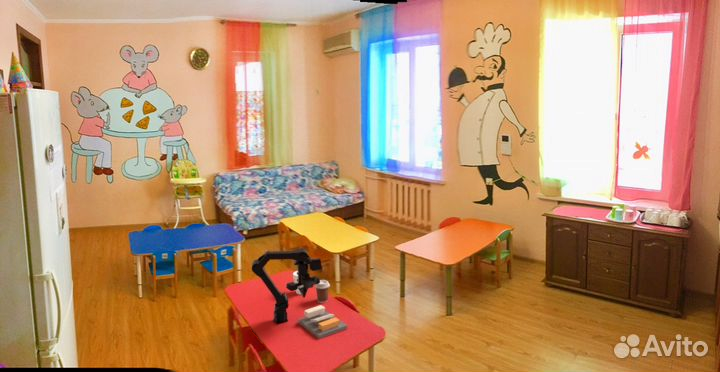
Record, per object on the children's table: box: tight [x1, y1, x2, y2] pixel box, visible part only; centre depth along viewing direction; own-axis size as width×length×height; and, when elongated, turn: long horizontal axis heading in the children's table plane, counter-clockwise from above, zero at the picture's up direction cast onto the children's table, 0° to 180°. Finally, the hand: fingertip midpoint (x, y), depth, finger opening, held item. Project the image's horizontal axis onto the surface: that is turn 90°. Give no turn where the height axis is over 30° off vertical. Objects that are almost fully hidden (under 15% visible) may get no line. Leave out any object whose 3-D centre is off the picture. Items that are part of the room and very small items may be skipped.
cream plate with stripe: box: [311, 313, 335, 322], centre depth 270 cm, size 11×7×1 cm, turn 126°
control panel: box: [297, 310, 348, 340], centre depth 271 cm, size 18×22×4 cm
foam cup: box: [292, 270, 302, 296], centre depth 312 cm, size 10×9×13 cm
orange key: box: [319, 316, 341, 331], centre depth 265 cm, size 11×4×3 cm, turn 126°
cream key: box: [304, 305, 326, 318], centre depth 276 cm, size 11×4×3 cm, turn 126°
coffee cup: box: [314, 279, 331, 304], centre depth 301 cm, size 9×9×12 cm
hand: (303, 297), depth 276 cm, fingers closed
